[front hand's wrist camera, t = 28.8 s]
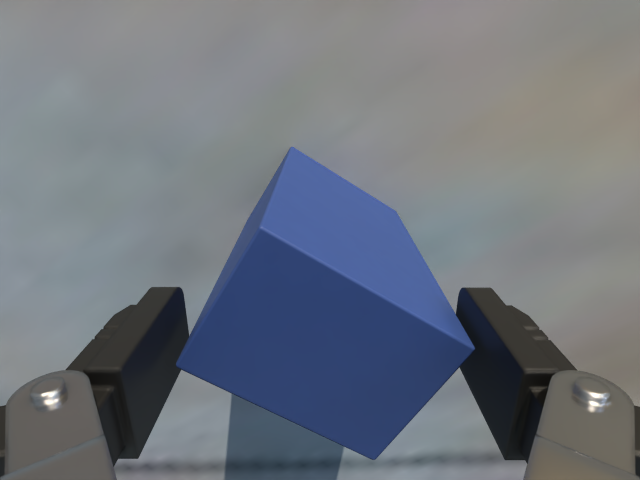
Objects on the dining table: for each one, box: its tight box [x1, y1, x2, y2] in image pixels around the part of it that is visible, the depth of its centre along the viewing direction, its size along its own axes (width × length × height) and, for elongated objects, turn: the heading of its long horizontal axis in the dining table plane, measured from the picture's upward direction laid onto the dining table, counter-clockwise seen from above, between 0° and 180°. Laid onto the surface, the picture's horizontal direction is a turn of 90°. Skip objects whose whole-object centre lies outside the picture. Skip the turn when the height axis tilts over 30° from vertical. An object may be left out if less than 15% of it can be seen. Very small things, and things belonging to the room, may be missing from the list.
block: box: [176, 147, 475, 460], centre depth 15 cm, size 4×6×11 cm
